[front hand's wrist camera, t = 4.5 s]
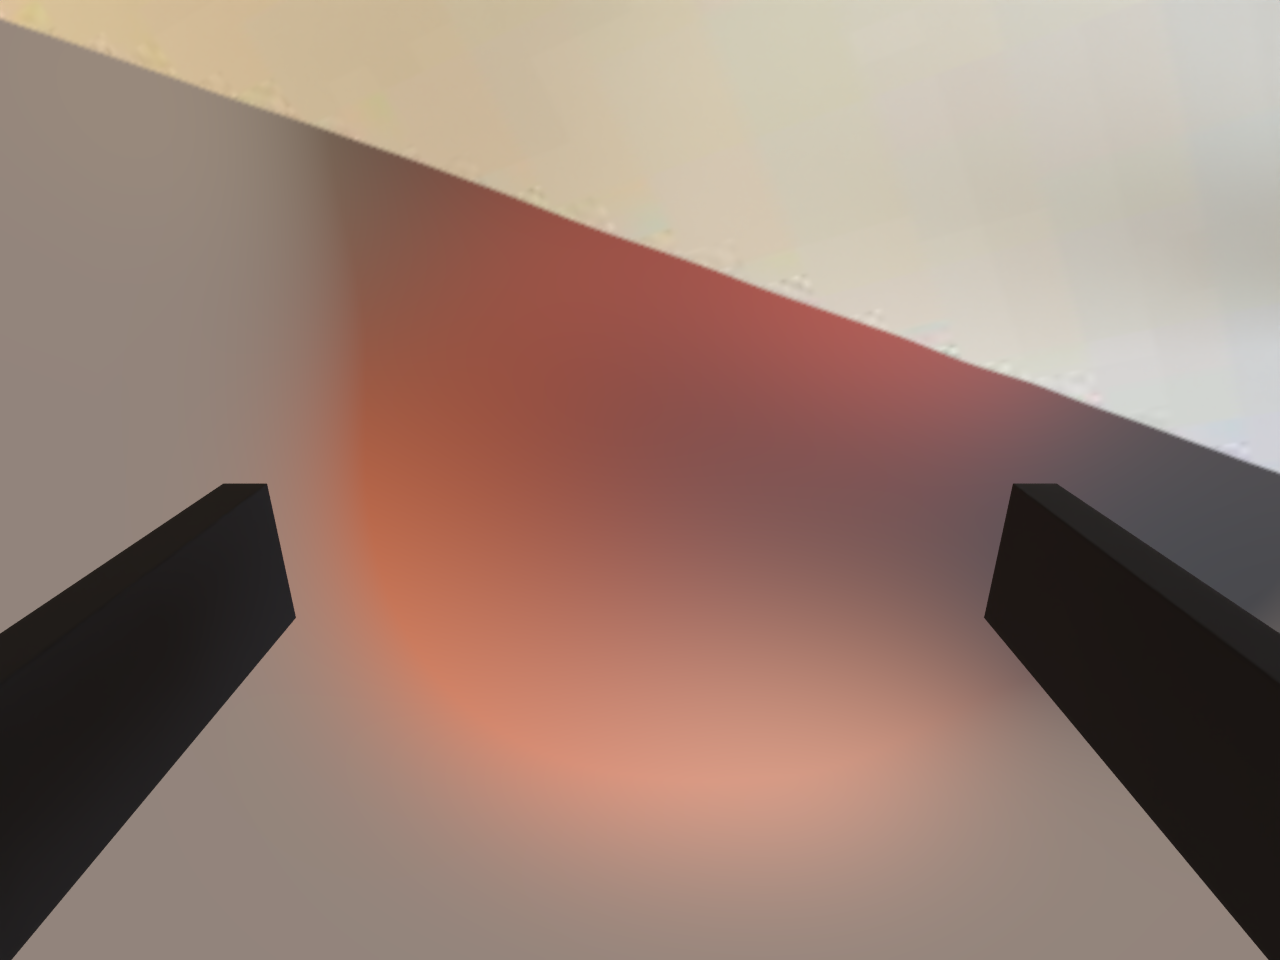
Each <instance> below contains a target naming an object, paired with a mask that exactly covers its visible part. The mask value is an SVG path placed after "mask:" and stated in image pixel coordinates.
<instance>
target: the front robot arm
mask: <svg viewBox="0 0 1280 960" xmlns="http://www.w3.org/2000/svg"><path fill="white" fill-rule="evenodd" d="M295 618H296V616H295V612H294V607H293V602H292V598H291V593H290V588H289V584H288V579H287V575H286V570H285V565H284V561H283V556H282V551H281V547H280V542H279V538H278V533H277V528H276V524H275V519H274V514H273V509H272V505H271V500H270V496H269V491H268V486H267V484H222V485H221V486H219V487H218V488H216V489H215V490H213V491H212V492H210V493H209V494H207V495H206V496H204V497H203V498H201V499H200V500H198V501H197V502H195V503H194V504H192V505H191V506H189V507H188V508H186V509H185V510H183V511H182V512H181V513H179V514H178V515H176V516H175V517H173V518H172V519H170V520H169V521H167V522H166V523H164V524H163V525H161V526H160V527H158V528H157V529H155V530H154V531H152V532H151V533H149V534H148V535H146V536H145V537H143V538H142V539H140V540H139V541H137V542H136V543H134V544H133V545H131V546H130V547H128V548H127V549H125V550H124V551H123V552H121V553H120V554H118V555H117V556H115V557H114V558H112V559H111V560H109V561H108V562H106V563H105V564H103V565H102V566H100V567H99V568H97V569H96V570H94V571H93V572H91V573H90V574H88V575H87V576H85V577H84V578H82V579H81V580H79V581H78V582H76V583H75V584H73V585H72V586H70V587H69V588H67V589H66V590H64V591H63V592H62V593H60V594H59V595H57V596H56V597H54V598H53V599H51V600H50V601H48V602H47V603H45V604H44V605H42V606H41V607H39V608H38V609H36V610H35V611H33V612H32V613H30V614H29V615H27V616H26V617H24V618H23V619H21V620H20V621H18V622H17V623H15V624H14V625H12V626H11V627H9V628H8V629H7V630H5V631H4V632H2V633H0V960H12V958H13V957H14V956H15V955H16V954H17V952H18V951H19V950H20V949H21V948H22V946H23V945H24V944H25V943H26V942H27V940H28V939H29V938H30V937H31V936H32V934H33V933H34V932H35V931H36V930H37V928H38V927H39V926H40V925H41V924H42V922H43V921H44V920H45V919H46V918H47V916H48V915H49V914H50V913H51V912H52V910H53V909H54V908H55V907H56V906H57V904H58V903H59V902H60V901H61V900H62V898H63V897H64V896H65V895H66V893H67V892H68V891H69V890H70V889H71V887H72V886H73V885H74V884H75V883H76V881H77V880H78V879H79V878H80V877H81V875H82V874H83V873H84V872H85V871H86V869H87V868H88V867H89V866H90V865H91V863H92V862H93V861H94V860H95V859H96V857H97V856H98V855H99V854H100V853H101V851H102V850H103V849H104V848H105V847H106V845H107V844H108V843H109V842H110V841H111V839H112V838H113V837H114V836H115V835H116V833H117V832H118V831H119V830H120V829H121V827H122V826H123V825H124V824H125V823H126V821H127V820H128V819H129V818H130V817H131V815H132V814H133V813H134V812H135V811H136V809H137V808H138V807H139V806H140V805H141V803H142V802H143V801H144V800H145V798H146V797H147V796H148V795H149V794H150V792H151V791H152V790H153V789H154V788H155V786H156V785H157V784H158V783H159V782H160V780H161V779H162V778H163V777H164V776H165V774H166V773H167V772H168V771H169V770H170V768H171V767H172V766H173V765H174V764H175V762H176V761H177V760H178V759H179V758H180V756H181V755H182V754H183V753H184V752H185V750H186V749H187V748H188V747H189V746H190V744H191V743H192V742H193V741H194V740H195V738H196V737H197V736H198V735H199V733H200V732H201V731H202V730H203V729H204V728H205V726H206V725H207V724H208V723H209V721H210V720H211V719H212V718H213V717H214V715H215V714H216V713H217V712H218V711H219V709H220V708H221V707H222V706H223V705H224V703H225V702H226V701H227V700H228V699H229V697H230V696H231V695H232V694H233V693H234V691H235V690H236V689H237V688H238V687H239V685H240V684H241V683H242V682H243V681H244V679H245V678H246V677H247V676H248V675H249V673H250V672H251V671H252V670H253V669H254V667H255V666H256V665H257V664H258V663H259V661H260V660H261V659H262V658H263V657H264V655H265V654H266V653H267V652H268V651H269V649H270V648H271V647H272V646H273V645H274V643H275V642H276V641H277V640H278V638H279V637H280V636H281V635H282V634H283V632H284V631H285V630H286V629H287V628H288V626H289V625H290V624H291V623H292V622H293V620H294V619H295ZM984 618H985V619H986V620H987V622H988V623H989V624H990V625H991V626H992V628H993V629H994V630H995V631H996V632H997V634H998V635H999V636H1000V637H1001V639H1002V640H1003V641H1004V642H1005V643H1006V645H1007V646H1008V647H1009V648H1010V649H1011V651H1012V652H1013V653H1014V654H1015V655H1016V657H1017V658H1018V659H1019V660H1020V661H1021V663H1022V664H1023V665H1024V666H1025V667H1026V669H1027V670H1028V671H1029V672H1030V673H1031V675H1032V676H1033V677H1034V678H1035V679H1036V681H1037V682H1038V683H1039V684H1040V685H1041V687H1042V688H1043V689H1044V690H1045V691H1046V693H1047V694H1048V695H1049V696H1050V697H1051V699H1052V700H1053V701H1054V702H1055V703H1056V705H1057V706H1058V707H1059V708H1060V709H1061V711H1062V712H1063V713H1064V714H1065V715H1066V717H1067V718H1068V719H1069V720H1070V722H1071V723H1072V724H1073V725H1074V726H1075V728H1076V729H1077V730H1078V731H1079V732H1080V733H1081V735H1082V736H1083V737H1084V738H1085V740H1086V741H1087V742H1088V743H1089V744H1090V746H1091V747H1092V748H1093V749H1094V750H1095V752H1096V753H1097V754H1098V755H1099V756H1100V758H1101V759H1102V760H1103V761H1104V762H1105V764H1106V765H1107V766H1108V767H1109V768H1110V770H1111V771H1112V772H1113V773H1114V774H1115V776H1116V777H1117V778H1118V779H1119V780H1120V782H1121V783H1122V784H1123V785H1124V786H1125V788H1126V789H1127V790H1128V791H1129V792H1130V794H1131V795H1132V796H1133V797H1134V798H1135V800H1136V801H1137V802H1138V803H1139V804H1140V806H1141V807H1142V808H1143V809H1144V811H1145V812H1146V813H1147V814H1148V815H1149V817H1150V818H1151V819H1152V820H1153V821H1154V823H1155V824H1156V825H1157V826H1158V827H1159V829H1160V830H1161V831H1162V832H1163V833H1164V835H1165V836H1166V837H1167V838H1168V839H1169V841H1170V842H1171V843H1172V844H1173V845H1174V847H1175V848H1176V849H1177V850H1178V851H1179V853H1180V854H1181V855H1182V856H1183V857H1184V859H1185V860H1186V861H1187V862H1188V863H1189V865H1190V866H1191V867H1192V868H1193V869H1194V871H1195V872H1196V873H1197V874H1198V875H1199V877H1200V878H1201V879H1202V880H1203V881H1204V883H1205V884H1206V885H1207V886H1208V888H1209V889H1210V890H1211V891H1212V892H1213V894H1214V895H1215V896H1216V897H1217V898H1218V900H1219V901H1220V902H1221V903H1222V904H1223V906H1224V907H1225V908H1226V909H1227V910H1228V912H1229V913H1230V914H1231V915H1232V916H1233V918H1234V919H1235V920H1236V921H1237V922H1238V924H1239V925H1240V926H1241V927H1242V928H1243V930H1244V931H1245V932H1246V933H1247V934H1248V936H1249V937H1250V938H1251V939H1252V940H1253V942H1254V943H1255V944H1256V945H1257V946H1258V948H1259V949H1260V950H1261V951H1262V952H1263V954H1264V955H1265V956H1266V957H1267V958H1268V960H1280V633H1279V632H1277V631H1275V630H1273V629H1272V628H1271V627H1269V626H1268V625H1266V624H1265V623H1263V622H1262V621H1260V620H1259V619H1257V618H1256V617H1254V616H1253V615H1251V614H1250V613H1248V612H1247V611H1245V610H1244V609H1242V608H1241V607H1239V606H1238V605H1236V604H1235V603H1233V602H1232V601H1230V600H1229V599H1227V598H1226V597H1224V596H1223V595H1221V594H1220V593H1219V592H1217V591H1215V590H1214V589H1213V588H1211V587H1210V586H1208V585H1207V584H1205V583H1204V582H1202V581H1201V580H1199V579H1198V578H1196V577H1195V576H1193V575H1192V574H1190V573H1189V572H1187V571H1186V570H1184V569H1183V568H1181V567H1180V566H1178V565H1177V564H1175V563H1174V562H1172V561H1171V560H1169V559H1168V558H1166V557H1165V556H1163V555H1162V554H1160V553H1159V552H1157V551H1156V550H1155V549H1153V548H1152V547H1150V546H1149V545H1147V544H1146V543H1144V542H1143V541H1141V540H1140V539H1138V538H1137V537H1135V536H1134V535H1132V534H1131V533H1129V532H1128V531H1126V530H1125V529H1123V528H1122V527H1120V526H1119V525H1117V524H1116V523H1114V522H1113V521H1111V520H1110V519H1108V518H1107V517H1105V516H1104V515H1102V514H1101V513H1099V512H1098V511H1097V510H1095V509H1094V508H1092V507H1091V506H1089V505H1088V504H1086V503H1085V502H1083V501H1082V500H1080V499H1079V498H1077V497H1076V496H1074V495H1073V494H1071V493H1070V492H1068V491H1067V490H1065V489H1064V488H1062V487H1061V486H1059V485H1058V484H1013V486H1012V491H1011V496H1010V500H1009V505H1008V509H1007V514H1006V519H1005V523H1004V528H1003V533H1002V537H1001V542H1000V547H999V551H998V556H997V561H996V565H995V570H994V574H993V579H992V584H991V588H990V593H989V598H988V602H987V607H986V612H985V616H984Z"/></svg>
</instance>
